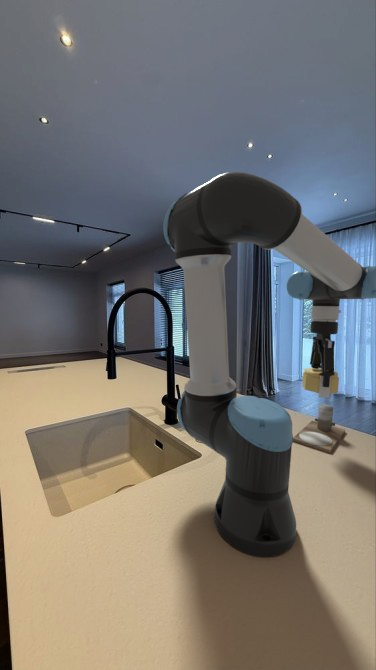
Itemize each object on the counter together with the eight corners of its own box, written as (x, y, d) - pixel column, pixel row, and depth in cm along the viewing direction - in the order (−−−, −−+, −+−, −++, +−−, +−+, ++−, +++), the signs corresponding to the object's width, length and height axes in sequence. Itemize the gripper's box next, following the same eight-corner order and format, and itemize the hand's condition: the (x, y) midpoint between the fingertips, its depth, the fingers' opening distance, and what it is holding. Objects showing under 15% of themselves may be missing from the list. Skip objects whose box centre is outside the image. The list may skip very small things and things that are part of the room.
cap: (307, 392, 84) (308, 371, 83) (300, 384, 93) (301, 365, 93) (341, 394, 82) (342, 373, 82) (330, 386, 92) (332, 367, 91)
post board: (330, 453, 82) (332, 423, 81) (292, 441, 89) (294, 413, 88) (345, 432, 97) (347, 406, 97) (311, 423, 104) (313, 399, 104)
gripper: (352, 322, 74) (345, 404, 76) (326, 319, 96) (321, 384, 98) (321, 321, 76) (315, 402, 78) (303, 319, 97) (299, 382, 99)
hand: (319, 392), depth 88 cm, fingers closed on cap, 9 cm apart
